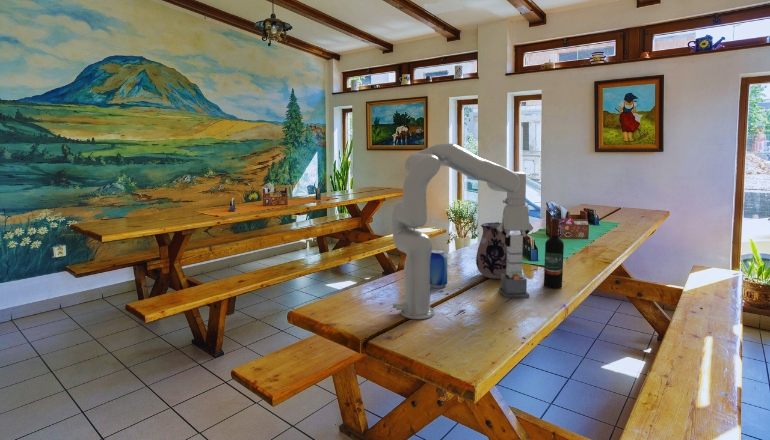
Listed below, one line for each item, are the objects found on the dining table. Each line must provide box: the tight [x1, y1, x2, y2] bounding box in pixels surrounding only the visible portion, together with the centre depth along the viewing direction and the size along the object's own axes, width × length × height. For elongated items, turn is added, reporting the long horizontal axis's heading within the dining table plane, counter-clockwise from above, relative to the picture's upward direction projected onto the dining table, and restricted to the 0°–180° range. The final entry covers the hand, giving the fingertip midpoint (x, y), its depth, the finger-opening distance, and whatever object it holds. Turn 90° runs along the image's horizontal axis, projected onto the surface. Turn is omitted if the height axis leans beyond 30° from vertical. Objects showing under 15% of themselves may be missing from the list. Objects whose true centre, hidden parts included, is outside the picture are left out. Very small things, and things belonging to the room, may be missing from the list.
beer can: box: [430, 248, 448, 289], centre depth 206 cm, size 8×8×16 cm
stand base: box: [498, 274, 530, 299], centre depth 193 cm, size 10×10×9 cm
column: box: [506, 232, 524, 279], centre depth 191 cm, size 5×5×18 cm
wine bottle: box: [543, 217, 565, 290], centre depth 200 cm, size 8×8×30 cm
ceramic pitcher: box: [475, 221, 507, 280], centre depth 218 cm, size 18×21×25 cm
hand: (514, 245), depth 190 cm, fingers closed on column, 5 cm apart
